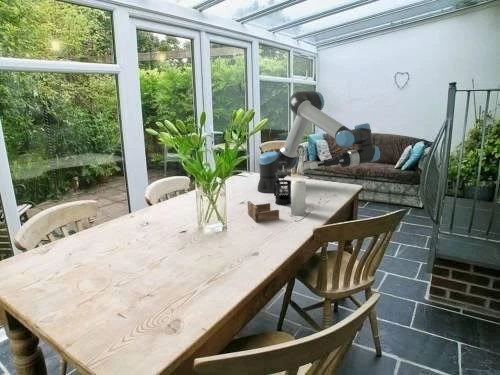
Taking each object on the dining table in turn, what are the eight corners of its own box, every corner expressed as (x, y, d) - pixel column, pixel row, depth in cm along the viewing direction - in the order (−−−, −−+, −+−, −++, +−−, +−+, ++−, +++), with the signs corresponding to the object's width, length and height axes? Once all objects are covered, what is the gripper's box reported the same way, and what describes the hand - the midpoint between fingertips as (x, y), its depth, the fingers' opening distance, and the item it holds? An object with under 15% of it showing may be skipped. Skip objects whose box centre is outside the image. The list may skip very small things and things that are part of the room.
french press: (296, 202, 185) (296, 161, 180) (285, 206, 179) (284, 164, 173) (280, 198, 194) (280, 159, 188) (269, 202, 188) (268, 161, 182)
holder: (248, 214, 170) (247, 201, 168) (269, 211, 173) (269, 198, 171) (256, 222, 158) (255, 208, 156) (279, 219, 162) (278, 205, 160)
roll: (288, 211, 171) (288, 180, 167) (301, 210, 173) (301, 179, 169) (294, 216, 165) (294, 184, 161) (307, 214, 167) (308, 182, 163)
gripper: (359, 165, 157) (315, 174, 156) (341, 166, 182) (303, 173, 181) (356, 150, 157) (312, 158, 156) (338, 152, 182) (300, 159, 181)
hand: (307, 166), depth 168 cm, fingers open, 13 cm apart
